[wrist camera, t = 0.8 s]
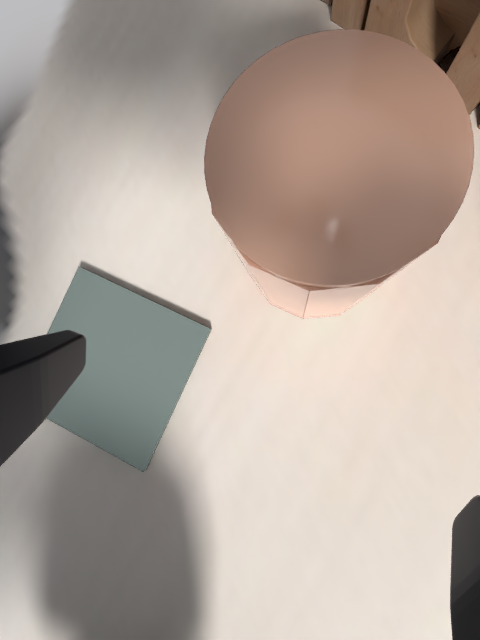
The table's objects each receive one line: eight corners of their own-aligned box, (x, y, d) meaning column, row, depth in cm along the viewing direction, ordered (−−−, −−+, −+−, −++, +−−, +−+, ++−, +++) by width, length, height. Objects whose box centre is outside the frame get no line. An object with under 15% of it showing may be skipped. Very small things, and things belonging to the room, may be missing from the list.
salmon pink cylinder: (348, 339, 22) (404, 328, 11) (227, 284, 23) (163, 223, 12) (405, 215, 22) (520, 77, 11) (281, 167, 23) (268, -3, 12)
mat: (145, 469, 23) (143, 471, 23) (20, 400, 24) (15, 401, 24) (211, 328, 23) (210, 328, 23) (82, 267, 24) (79, 266, 24)
